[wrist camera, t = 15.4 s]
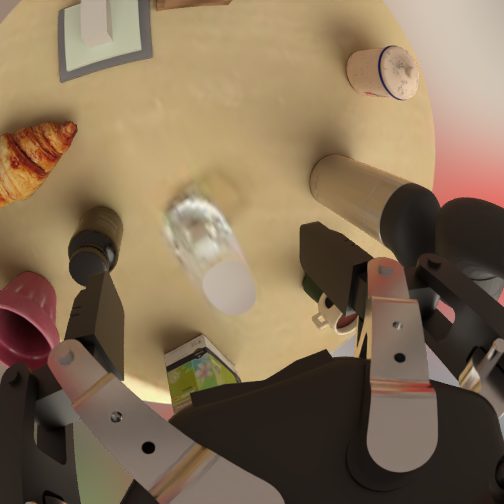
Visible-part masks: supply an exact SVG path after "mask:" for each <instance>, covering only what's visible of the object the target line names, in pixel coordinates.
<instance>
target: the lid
mask: <svg viewBox="0 0 504 504" xmlns="http://www.w3.org/2000/svg"><path fill="white" fill-rule="evenodd" d="M64 30H65V54H66V68H67V71H72V70H74V69H77V68H80V67H83V66H86V65H89V64H92V63H95V62H98V61H101V60H105V59H108V58H112V57H115V56H119V55H123V54H127V53H131V52H135V51H139V50H142V49H141V39H140V27H139V12H138V0H81V3H80V4H77V5H74V6H72V7H69V8H66V9H65V13H64Z"/></svg>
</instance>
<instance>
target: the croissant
mask: <svg viewBox="0 0 504 504" xmlns="http://www.w3.org/2000/svg"><path fill="white" fill-rule="evenodd" d="M76 133H77V125H76V124H74V123H73V122H71V121H66V122H64V123H62V124H60V125H58V124H56V123H52V122H46V123H42V124H41V125H36V126H35V127H32V128H31V127H24V128H21V129H20V130H18V131H16V132H15V133H13V134H9V133H5V134H3V135H2V136H1V138H0V207H3V206H6V205H8V204H10V203H11V202H14V201H17V200H21V199H22V200H25V199H27V198H29V197H30V196H31V195H32V194H33V193H34V192H35V191H36V190H37V189H38V188H39V187H40V186H41V185H42V183H43V182H44V181H45V179H46V178H47V177H48V175H49V173H50V172H51V170H52V169H53V168H54V167H55V165H56V164H57V162H58V161H59V159H60V158H61V156H62V154H63V153H64V152H65V151H67V150H68V148H69V147H70V145H71V142H72V140H73V138H74V136H75V134H76Z"/></svg>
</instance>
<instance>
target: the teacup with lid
mask: <svg viewBox="0 0 504 504" xmlns="http://www.w3.org/2000/svg"><path fill="white" fill-rule="evenodd" d="M347 76H348V79H349V81H350V83H351V85H352V87H353V88H354V89H355V90H356V91H357V92H359V93H360V94H362V95H365V96H376V97H389V98H395V99H398V100H406V99H409V98H411V97H412V96H413V95H414V94H415V93H416V91H417V88H418V85H419V73H418V68H417V65H416V63H415V61H414V59H413V58H412V56H411V55H410V54H409V53H408V52H407V51H406V50H404V49H403V48H401V47H398V46H388V47H386V48H377V49H369V50H362V51H357V52H355V53H353V54H352V55H351V56H350V57H349V59H348V62H347Z"/></svg>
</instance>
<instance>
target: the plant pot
mask: <svg viewBox="0 0 504 504" xmlns="http://www.w3.org/2000/svg"><path fill="white" fill-rule="evenodd" d="M59 343H60V338H59V333H58V330H57V328H56V294H55V291H54V289H53V287H52V286H51V284H50V283H49V282H48V281H47V280H46V279H45V278H44V277H42V276H40V275H38V274H36V273H32V272H25V273H22V274H20V275H18V276H17V277H16V278H15V279H14V280H13V281H12V282H10V283H9V284H8V285H7V286H6V287H5V288H4V289H2V290H0V363H2V364H3V365H5V366H6V367H8V368H9V367H10V366H12V365H13V364H15V363H24V364H26V365H27V366H28V368H29V369H30V370H31V371H34V370H36V369H38V368H40V367H42V366H44V365H46V364H48V356H49V354H50V352H51V351H52V349H53V348H54V347H55V346H56V345H57V344H59Z"/></svg>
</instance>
